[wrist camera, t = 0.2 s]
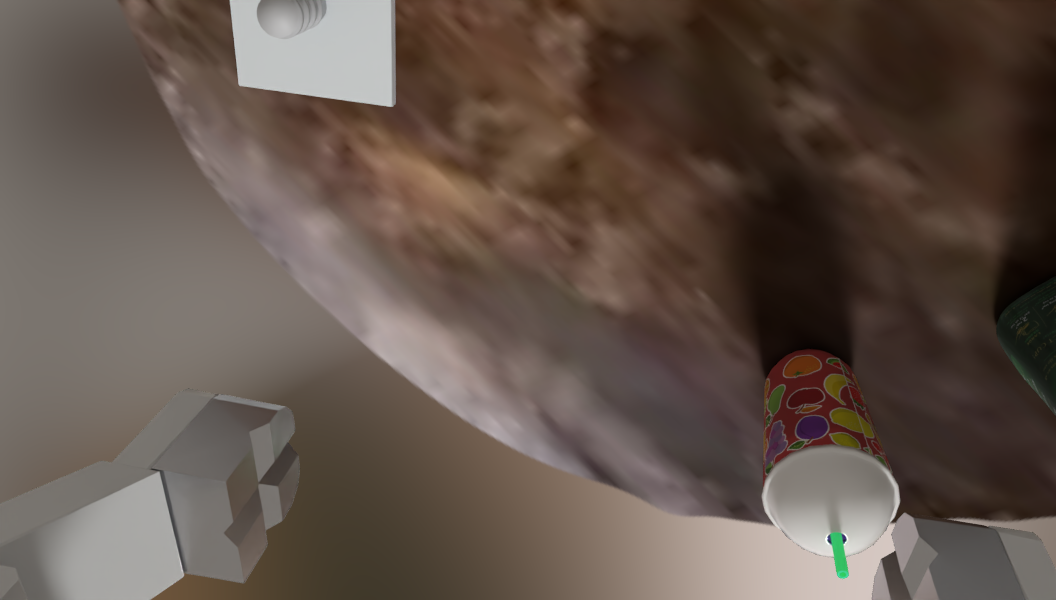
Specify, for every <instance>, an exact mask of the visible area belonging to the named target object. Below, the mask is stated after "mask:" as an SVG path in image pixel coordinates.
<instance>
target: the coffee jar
mask: <svg viewBox="0 0 1056 600" xmlns="http://www.w3.org/2000/svg"><path fill="white" fill-rule="evenodd" d="M997 337H998V340H999V342H1000V344H1001V346H1002V348H1003V349H1004V351H1005V352H1006V354H1007V356H1008V357H1009V359H1010V360H1011V362H1012V363H1013V364H1014V366H1015V367H1016V369H1017V370H1018V371H1019V373H1020V374H1021V375H1022V376H1023V378H1024V379H1025V380H1026V381H1027V382H1028V384H1029V385H1030V386H1031V387H1032V388H1033V389H1034V390H1035V391H1036V393H1037V394H1038V395H1039V396H1040V397H1041V398H1042V399H1043V401H1044V402H1045V403H1046V404H1047V406H1048V407H1049V408H1050V409H1051V410H1052V412H1053V413H1054V414H1055V415H1056V276H1055V277H1053V278H1051V279H1049V280H1048V281H1046V282H1044V283H1042V284H1041V285H1039V286H1037V287H1035V288H1034V289H1032V290H1030V291H1029V292H1027V293H1026V294H1024V295H1023V296H1021V297H1019V298H1018V299H1017V300H1015V301H1014V302H1012V303H1011V304H1010V305H1009V306H1008V307H1007V308H1006V309H1005V310H1004V311H1003V312H1002V314H1001V315H1000V317H999V320H998V322H997Z"/></svg>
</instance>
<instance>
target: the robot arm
mask: <svg viewBox="0 0 1056 600" xmlns="http://www.w3.org/2000/svg"><path fill="white" fill-rule="evenodd" d="M294 431H295V425H294V418H293V413H292V411H291V410H290V409H288V408H287V407H284V406H279V405H274V404H269V403H264V402H259V401H254V400H249V399H244V398H238V397H233V396H228V395H223V394H221V395H219V394H214V393H209V392H204V391H199V390H194V389H189V388H188V389H185V390H183V391H180V392H178V393H177V394H176V395H175V396H174V397H173V398H172V399H171V400H170V401H169V402H168V403H167V404H166V405H165V406H164V408H163V409H162V410H161V411H160V412H159V413H158V414H157V415H156V416H155V417H154V418H153V419H152V420H151V421H150V422H149V423H148V425H147V426H146V427H145V428H144V429H143V430H142V431H141V432H140V433H139V434H138V435H137V436H136V437H135V438H134V439H133V440H132V441H131V443H130V444H129V445H128V446H127V447H126V448H125V449H124V450H123V451H122V452H121V453H120V454H119V456H117V457H116V459H115V460H114V461H113V462H106V461H100V462H97V463H95V464H93V465H90V466H88V467H85V468H83V469H81V470H78V471H76V472H74V473H71V474H69V475H67V476H64V477H62V478H60V479H57V480H55V481H52V482H50V483H48V484H45V485H43V486H41V487H38V488H36V489H34V490H31V491H29V492H26V493H24V494H22V495H19V496H17V497H15V498H13V499H10V500H8V501H5V502H3V503H1V504H0V600H150V599H152V598H153V597H155V596H156V595H158V594H159V593H161V592H162V591H163V590H165V589H166V588H168V587H169V586H171V585H172V584H174V583H175V582H177V581H178V580H179V579H181V578H182V577H184V573H187V574H193V575H199V576H206V577H211V578H217V579H222V580H228V581H234V582H240V583H245V581H246V579H247V578H248V576H249V575H250V573H251V571H252V570H253V568H254V567H255V565H256V563H257V562H258V560H259V558H260V557H261V555H262V554H263V552H264V550H265V549H266V547H267V545H268V544H267V537H266V530H267V529H269V528H270V527H272V526H274V525H276V524H277V523H279V522H281V521H282V520H283V519H284V517H285V515H286V514H287V512H288V510H289V509H290V507H291V505H292V502H293V499H294V496H295V493H296V490H297V487H298V481H299V470H300V467H299V457H298V454H297V453H296V451H295V450H294V449H293V448H292V447H291V445H290V444H289V443H288V441H289V439H290V438H291V436H292V435H293V433H294ZM891 535H892V539H893V542H894V546H895V550H896V551H894V552H893V553H891V554H889V555H887V556H886V557H884V558H882V559H881V561H880V564H879V567H878V569H877V572H876V575H875V578H874V585H873V593H872V600H1056V569H1055V567H1054V565H1053V563H1052V561H1051V559H1050V556H1049V554H1048V552H1047V550H1046V548H1045V546H1044V544H1043V542H1042V540H1041V539H1040V538H1039V537H1038V536H1036V535H1035V534H1034V533H1033V532H1027V531H1021V530H1014V529H1008V528H1001V527H995V526H989V527H987V526H984V525H978V524H972V523H966V522H960V521H954V520H947V519H941V518H935V517H929V516H923V515H917V514H911V513H905V512H904V514H903V515H902V516H901V517H900V518H899V519H898V520H897V522H896V525H895V527H894V529H893V532H892V534H891Z"/></svg>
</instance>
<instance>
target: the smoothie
mask: <svg viewBox="0 0 1056 600" xmlns="http://www.w3.org/2000/svg"><path fill="white" fill-rule="evenodd" d="M762 500H763V505H764V510H765V512H766V514H767V515H768V517H769V518H770V520H771V521H772V522H773V524H774V525H775V526H776V527H778V528H779V529H780V530H781V531H782V532H783V533H784V534H785V535H786V537H788V538H789V539H790V540H792V541H793V542H795V543H796V544H797V545H798V546H800V547H801V548H803V549H804V550H807V551H809V552H811V553H814V554H816V555H820V556H826V557H832V558H834V560H835V566H836V572H837V576H838V577H839V578H843V579H844V578H847V577H848V576H849V573H848V567H847V562H846V557H848V556H851V555H855V554H858V553H860V552H862V551H864V550H866V549H867V548H869V547H871V546H872V545H874V544H875V542H876V541H877V540H878V539H879V538H880V537H881V536H882V535H883V533H884V532H885V531H886V529H887V527H888V525H889V523H890V522H891V521H892V519H893V518H894V517H895V515H896V512H897V509H898V506H899V503H900V495H899V486H898V484H897V482H896V480H895V478H894V477H893V473H892V470H891V468H890V465H889V463H888V460H887V457H886V455H885V452H884V450H883V447H882V444H881V442H880V439H879V437H878V434H877V431H876V429H875V426H874V424H873V421H872V418H871V416H870V413H869V411H868V408H867V405H866V403H865V400H864V397H863V395H862V392H861V390H860V387H859V384H858V382H857V379H856V376H855V375H854V373H853V372H852V370H851V369H850V367H849V366H848V365H847V364H846V363H844V362H843V361H842V360H841V359H839V358H838V357H835V356H833V355H832V354H830V353H827V352H825V351H822V350H815V349H805V350H799V351H795V352H793V353H791V354H788V355H786V356H785V357H784V358H783V359H781V360H780V361H779V362H778V363H777V365H776V366H774V367H773V368H772V370H771V371H770V373H769V375H768V376H767V378H766V384H765V402H764V459H763V491H762Z"/></svg>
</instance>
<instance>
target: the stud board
mask: <svg viewBox="0 0 1056 600" xmlns="http://www.w3.org/2000/svg"><path fill="white" fill-rule="evenodd" d="M230 7H231V16H232V26H233V35H234V44H235V54H236V63H237V72H238V82H239V86H246V87H253V88H260V89H267V90H274V91H282V92H289V93H296V94H303V95H310V96H318V97H325V98H332V99H339V100H346V101H354V102H361V103H368V104H375V105H382V106H390V107H392V106H394V105H395V104H396V69H395V0H230Z"/></svg>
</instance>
